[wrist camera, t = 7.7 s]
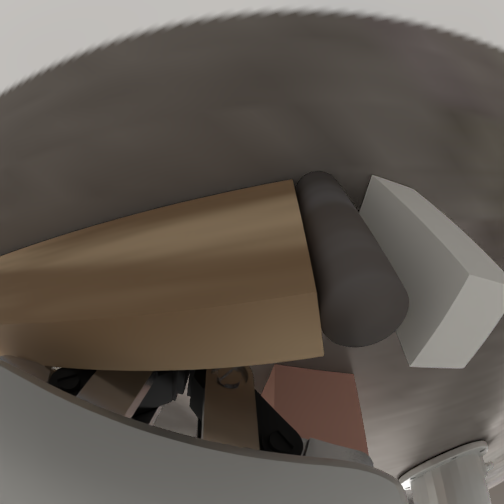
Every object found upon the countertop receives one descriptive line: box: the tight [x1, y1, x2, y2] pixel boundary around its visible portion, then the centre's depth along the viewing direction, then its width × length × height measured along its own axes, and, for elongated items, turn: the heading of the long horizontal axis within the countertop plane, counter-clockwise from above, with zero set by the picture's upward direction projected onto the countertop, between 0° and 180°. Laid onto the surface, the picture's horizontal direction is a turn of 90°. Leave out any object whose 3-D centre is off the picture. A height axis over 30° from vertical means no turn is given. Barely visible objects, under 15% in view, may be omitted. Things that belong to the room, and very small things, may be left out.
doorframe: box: [359, 175, 504, 368], centre depth 14 cm, size 5×33×9 cm, turn 168°
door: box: [0, 171, 409, 371], centre depth 9 cm, size 2×21×6 cm, turn 103°
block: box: [261, 364, 369, 456], centre depth 14 cm, size 4×6×6 cm
